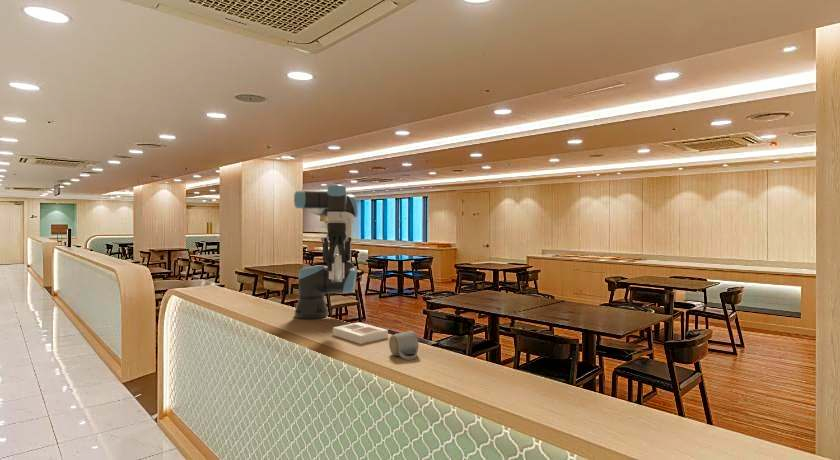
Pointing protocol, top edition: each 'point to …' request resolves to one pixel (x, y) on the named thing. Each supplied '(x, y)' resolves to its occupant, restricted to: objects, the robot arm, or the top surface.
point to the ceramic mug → (404, 345)
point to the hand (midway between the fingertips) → (336, 278)
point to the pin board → (360, 332)
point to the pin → (337, 268)
